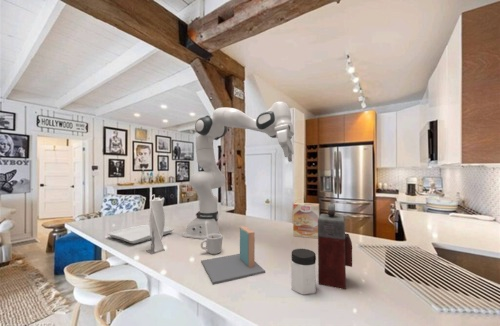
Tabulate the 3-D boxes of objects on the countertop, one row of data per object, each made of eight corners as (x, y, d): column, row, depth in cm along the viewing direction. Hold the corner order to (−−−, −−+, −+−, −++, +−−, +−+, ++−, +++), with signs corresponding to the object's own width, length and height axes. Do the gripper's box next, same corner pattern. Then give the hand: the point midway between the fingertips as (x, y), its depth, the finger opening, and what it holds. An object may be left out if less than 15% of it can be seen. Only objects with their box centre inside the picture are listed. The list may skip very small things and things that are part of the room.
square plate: (174, 234, 137) (174, 228, 137) (131, 248, 114) (131, 240, 114) (149, 228, 151) (149, 222, 151) (106, 239, 128) (106, 232, 128)
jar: (296, 296, 70) (296, 258, 70) (286, 283, 78) (286, 249, 78) (321, 292, 72) (321, 256, 72) (309, 280, 80) (309, 247, 80)
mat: (201, 262, 95) (201, 260, 95) (245, 254, 104) (245, 252, 104) (213, 284, 77) (212, 282, 77) (265, 272, 86) (265, 270, 86)
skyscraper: (144, 250, 110) (145, 194, 111) (160, 246, 116) (160, 193, 117) (151, 255, 104) (152, 196, 105) (167, 250, 110) (168, 194, 111)
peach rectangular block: (239, 258, 97) (239, 226, 98) (245, 257, 98) (245, 226, 99) (248, 267, 88) (248, 233, 89) (254, 266, 89) (254, 232, 90)
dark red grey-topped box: (353, 291, 73) (352, 207, 74) (318, 284, 77) (317, 205, 78) (352, 278, 81) (351, 203, 82) (320, 272, 86) (319, 201, 86)
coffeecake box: (293, 236, 132) (292, 203, 132) (294, 232, 138) (294, 202, 139) (319, 239, 126) (318, 205, 127) (319, 235, 133) (319, 203, 133)
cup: (203, 257, 100) (203, 240, 100) (198, 251, 107) (198, 235, 107) (225, 253, 105) (225, 236, 105) (219, 248, 112) (219, 232, 112)
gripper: (282, 140, 118) (286, 165, 114) (273, 126, 99) (277, 155, 95) (294, 137, 116) (298, 162, 112) (287, 122, 97) (291, 152, 93)
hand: (288, 159), depth 103 cm, fingers open, 8 cm apart
